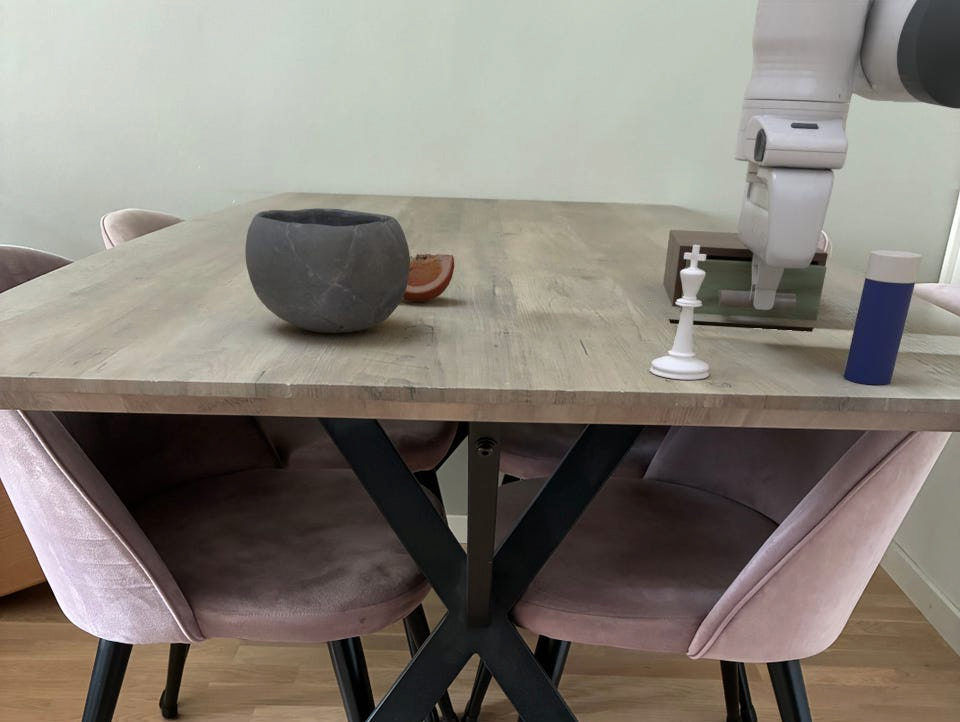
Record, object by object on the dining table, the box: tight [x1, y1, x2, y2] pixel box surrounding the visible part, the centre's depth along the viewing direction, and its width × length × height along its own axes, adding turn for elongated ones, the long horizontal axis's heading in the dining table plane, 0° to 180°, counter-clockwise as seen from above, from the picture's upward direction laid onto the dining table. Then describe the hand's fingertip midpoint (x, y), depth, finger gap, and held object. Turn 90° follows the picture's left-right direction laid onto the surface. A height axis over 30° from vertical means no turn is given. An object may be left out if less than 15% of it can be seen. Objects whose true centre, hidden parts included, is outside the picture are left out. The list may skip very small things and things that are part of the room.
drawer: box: [678, 255, 828, 329], centre depth 99 cm, size 19×13×6 cm
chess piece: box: [649, 245, 710, 381], centre depth 78 cm, size 5×5×10 cm
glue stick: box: [843, 249, 923, 386], centre depth 78 cm, size 4×4×10 cm
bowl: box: [244, 207, 411, 334], centre depth 88 cm, size 15×15×10 cm
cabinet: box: [662, 229, 829, 333], centre depth 104 cm, size 16×15×8 cm
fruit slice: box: [402, 253, 455, 303], centre depth 105 cm, size 8×7×5 cm
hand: (760, 307), depth 89 cm, fingers closed
